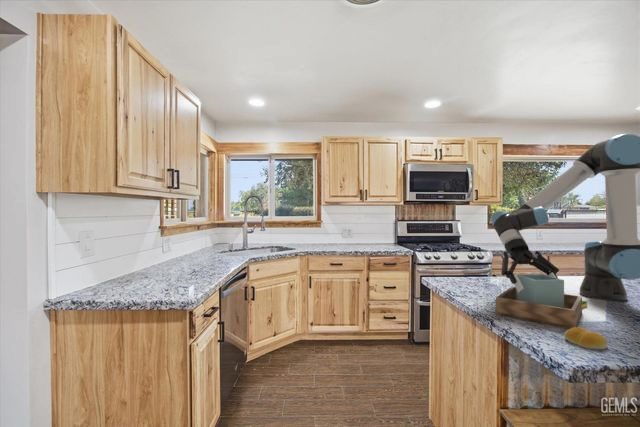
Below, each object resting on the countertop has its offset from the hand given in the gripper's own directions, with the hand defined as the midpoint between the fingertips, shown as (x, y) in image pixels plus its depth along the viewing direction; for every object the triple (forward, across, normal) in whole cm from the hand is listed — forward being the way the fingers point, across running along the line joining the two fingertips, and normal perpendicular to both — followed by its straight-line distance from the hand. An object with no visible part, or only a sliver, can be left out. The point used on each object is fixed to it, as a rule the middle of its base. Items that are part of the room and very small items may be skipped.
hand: (540, 290), depth 113 cm
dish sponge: (-3, -18, -16) cm, 24 cm away
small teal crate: (+4, 0, -6) cm, 8 cm away
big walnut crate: (+5, 0, -7) cm, 9 cm away
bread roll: (+23, +4, +11) cm, 26 cm away
